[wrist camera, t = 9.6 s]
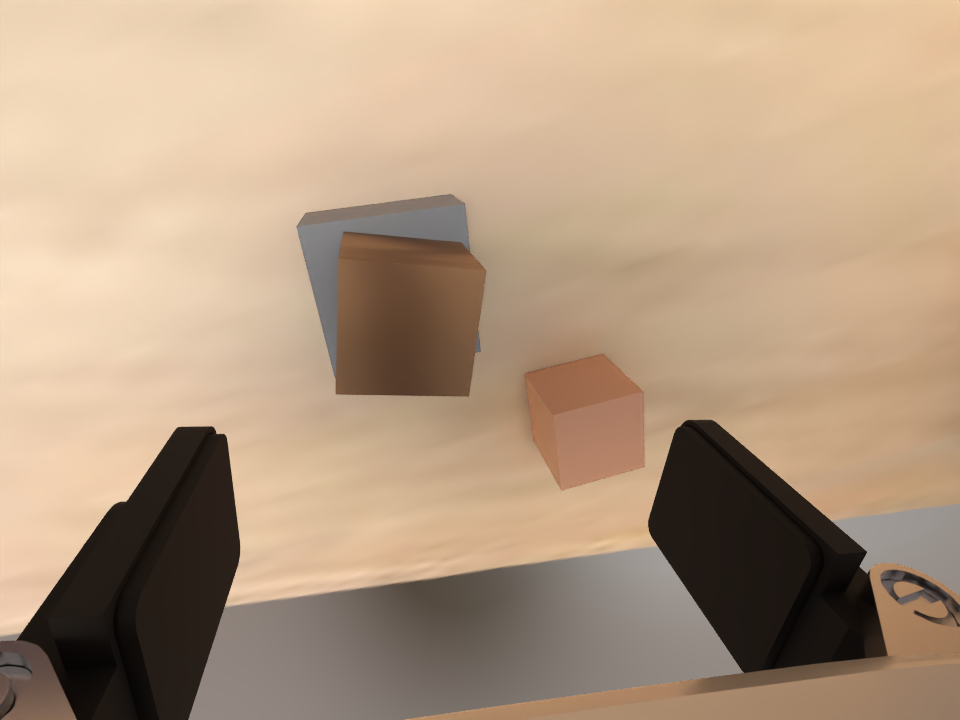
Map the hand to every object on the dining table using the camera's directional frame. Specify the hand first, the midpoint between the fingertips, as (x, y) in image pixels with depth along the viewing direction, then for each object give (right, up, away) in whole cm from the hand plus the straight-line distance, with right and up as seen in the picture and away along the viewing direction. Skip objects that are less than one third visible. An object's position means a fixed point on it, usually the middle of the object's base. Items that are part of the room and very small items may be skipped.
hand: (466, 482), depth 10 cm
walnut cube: (-3, +6, +12) cm, 14 cm away
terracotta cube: (+6, 0, +21) cm, 22 cm away
